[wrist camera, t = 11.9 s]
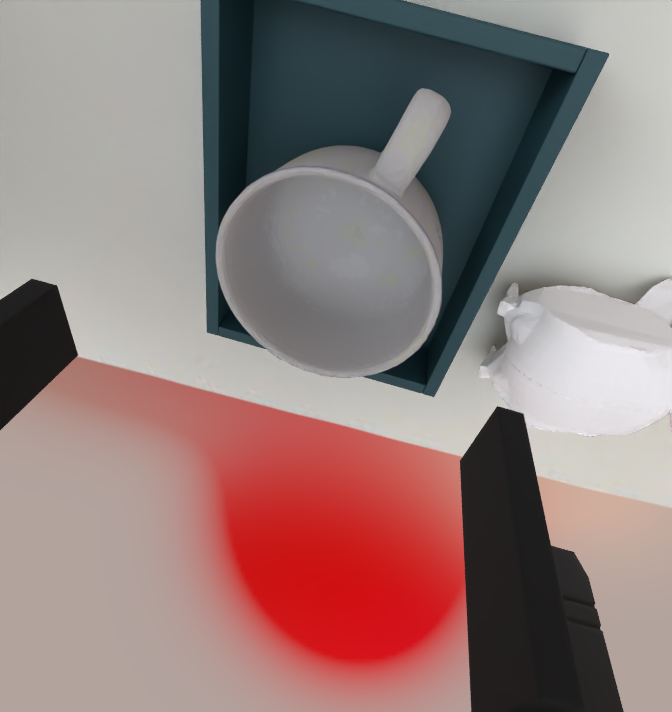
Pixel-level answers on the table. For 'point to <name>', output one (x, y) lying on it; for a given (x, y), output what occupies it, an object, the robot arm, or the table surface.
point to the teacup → (340, 252)
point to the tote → (389, 127)
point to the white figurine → (585, 359)
